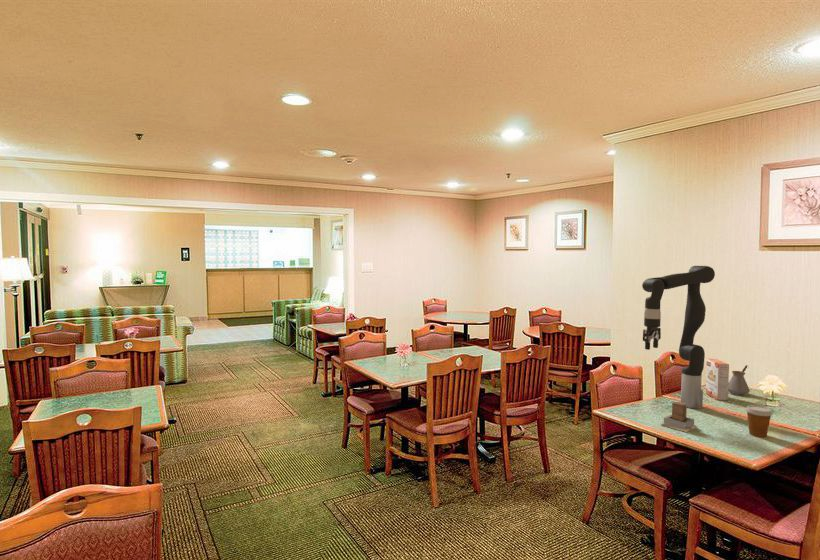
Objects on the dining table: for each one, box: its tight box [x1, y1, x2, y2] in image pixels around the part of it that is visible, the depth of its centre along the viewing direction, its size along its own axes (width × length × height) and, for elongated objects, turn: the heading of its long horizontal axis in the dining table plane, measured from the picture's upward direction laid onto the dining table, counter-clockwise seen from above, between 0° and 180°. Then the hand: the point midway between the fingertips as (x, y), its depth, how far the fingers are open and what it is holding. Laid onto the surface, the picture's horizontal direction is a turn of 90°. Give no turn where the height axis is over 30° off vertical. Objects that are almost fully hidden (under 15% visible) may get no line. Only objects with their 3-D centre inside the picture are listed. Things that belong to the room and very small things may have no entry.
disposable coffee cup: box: [745, 405, 773, 438], centre depth 213 cm, size 10×10×12 cm
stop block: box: [671, 401, 688, 422], centre depth 223 cm, size 4×4×10 cm
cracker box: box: [705, 358, 730, 402], centre depth 272 cm, size 14×6×21 cm, turn 172°
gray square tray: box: [661, 414, 698, 433], centre depth 223 cm, size 11×11×4 cm
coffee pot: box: [728, 364, 751, 396], centre depth 283 cm, size 21×12×15 cm, turn 129°
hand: (651, 348), depth 247 cm, fingers open, 8 cm apart
